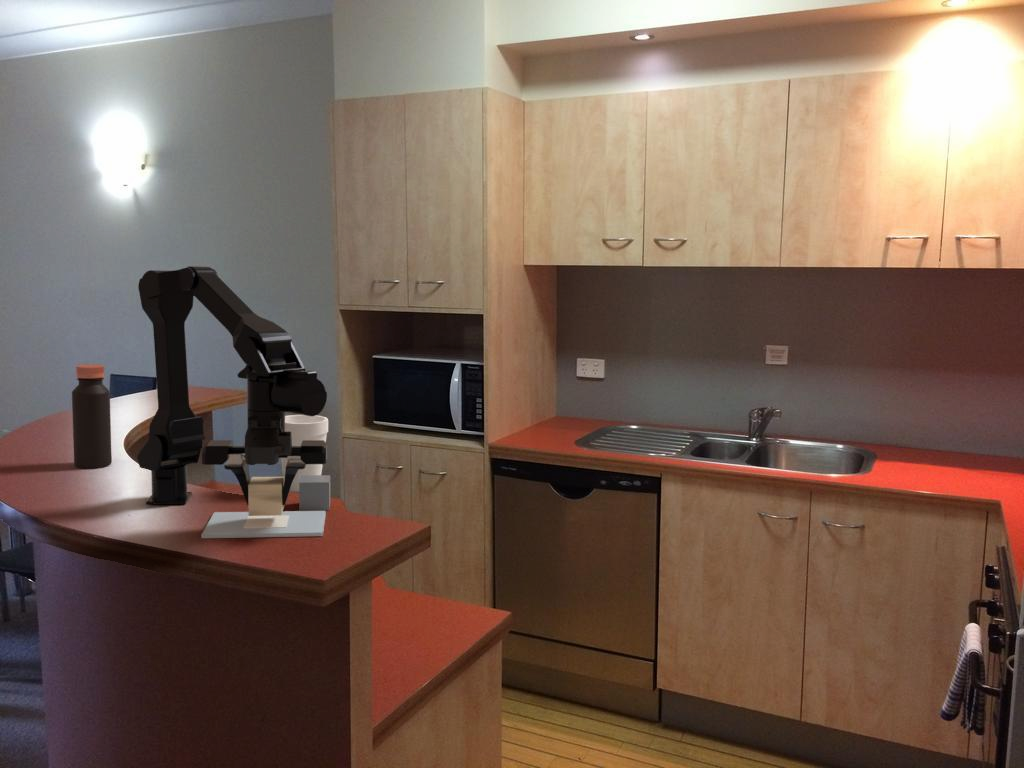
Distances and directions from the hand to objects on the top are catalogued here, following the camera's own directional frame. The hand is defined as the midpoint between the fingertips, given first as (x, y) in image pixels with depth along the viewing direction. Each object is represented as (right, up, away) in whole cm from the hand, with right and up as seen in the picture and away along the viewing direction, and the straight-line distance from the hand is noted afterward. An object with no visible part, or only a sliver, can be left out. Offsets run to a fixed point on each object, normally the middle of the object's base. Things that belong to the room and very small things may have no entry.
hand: (266, 505), depth 141 cm
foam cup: (0, 0, +25) cm, 25 cm away
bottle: (-45, +3, +36) cm, 57 cm away
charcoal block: (+5, -2, +12) cm, 14 cm away
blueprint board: (0, -3, 0) cm, 3 cm away
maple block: (0, -1, 0) cm, 1 cm away
